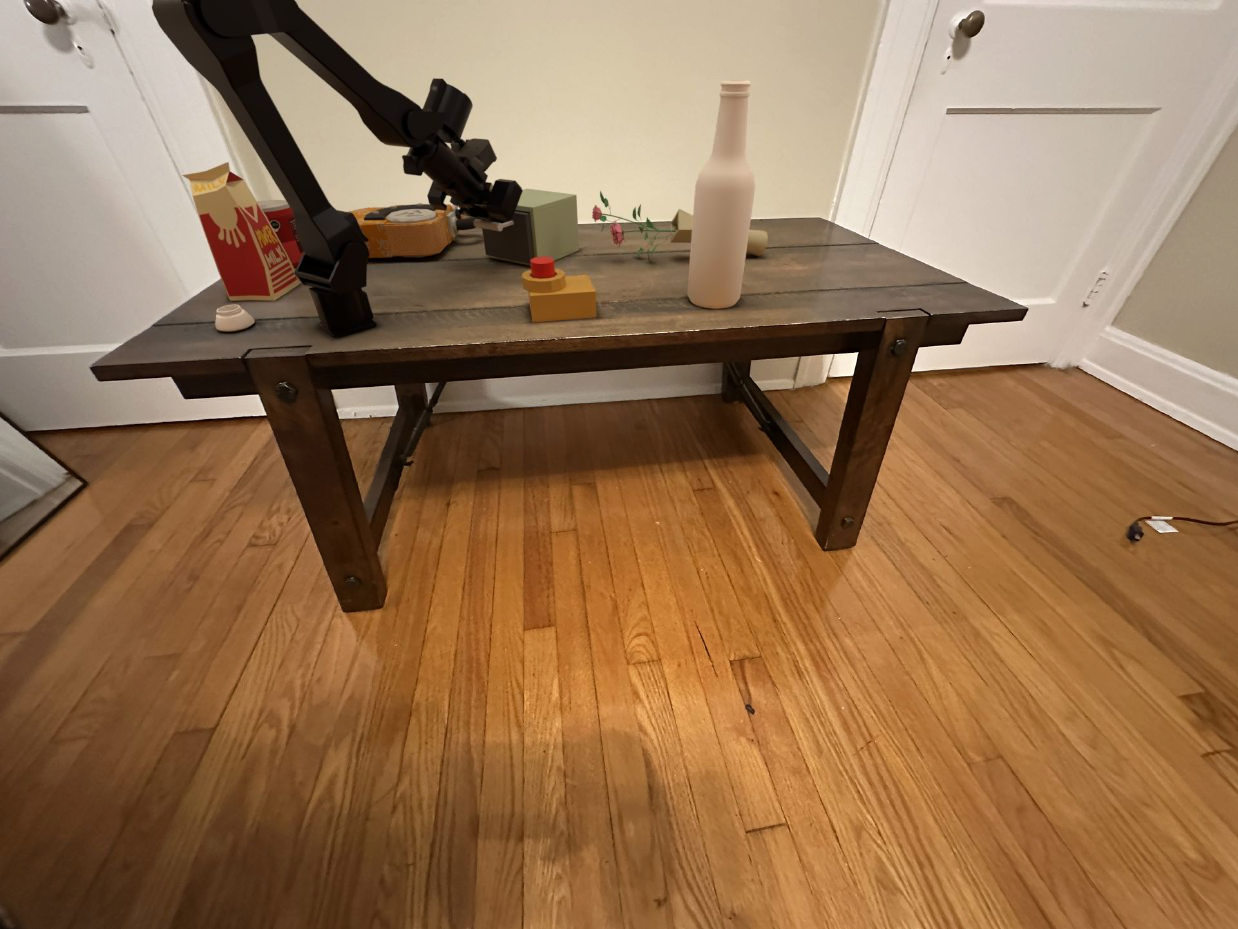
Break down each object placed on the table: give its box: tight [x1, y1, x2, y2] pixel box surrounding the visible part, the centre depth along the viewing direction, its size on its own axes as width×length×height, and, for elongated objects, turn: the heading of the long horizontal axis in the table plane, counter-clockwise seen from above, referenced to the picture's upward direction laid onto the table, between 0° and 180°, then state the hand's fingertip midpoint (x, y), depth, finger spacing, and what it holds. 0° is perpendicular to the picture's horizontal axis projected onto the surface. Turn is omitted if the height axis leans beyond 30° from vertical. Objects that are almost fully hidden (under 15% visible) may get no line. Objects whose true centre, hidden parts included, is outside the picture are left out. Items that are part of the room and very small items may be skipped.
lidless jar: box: [214, 304, 255, 332], centre depth 80 cm, size 5×3×5 cm
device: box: [347, 202, 480, 259], centre depth 113 cm, size 23×8×30 cm
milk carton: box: [181, 161, 302, 302], centre depth 87 cm, size 9×9×20 cm
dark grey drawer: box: [474, 210, 534, 264], centre depth 105 cm, size 17×12×9 cm
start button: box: [530, 257, 555, 279], centre depth 81 cm, size 4×4×2 cm
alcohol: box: [686, 79, 756, 310], centre depth 80 cm, size 9×9×30 cm
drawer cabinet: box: [489, 188, 580, 267], centre depth 108 cm, size 14×13×11 cm
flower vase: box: [591, 190, 769, 264], centre depth 106 cm, size 12×12×35 cm
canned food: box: [257, 199, 304, 269], centre depth 103 cm, size 8×8×11 cm
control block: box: [521, 268, 598, 323], centre depth 84 cm, size 11×8×6 cm
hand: (501, 222), depth 101 cm, fingers closed, pressing on dark grey drawer
